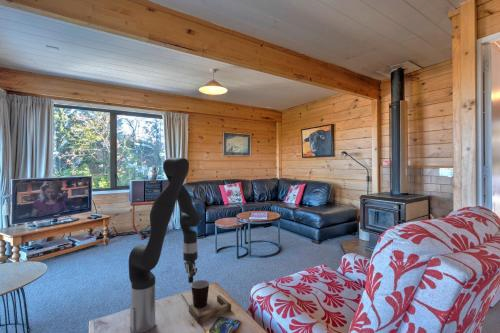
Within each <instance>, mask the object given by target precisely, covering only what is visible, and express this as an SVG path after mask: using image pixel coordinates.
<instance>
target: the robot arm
mask: <svg viewBox="0 0 500 333" xmlns="http://www.w3.org/2000/svg"><path fill="white" fill-rule="evenodd" d="M188 160H189V159H187V158H184V157H167V158H165V160H164V161H163V164H162V169H163V172H164V174H165V177H166V178H167V181H168V185H166V187H165V188H164V189H163V190H162V191H161V192H160V193H159V194H158V195H157V196H156V198H155V199H154V200H153V203H152V206H151V210H150V213H149V224H150V234H149V238H148V241H147V244H146V245H145V244H138V245H135V246H134V247H133V248H132V249H131V251H130V252H129V258H128V278H129V281H130V284H131V287H130V288H131V289H130V290H131V294H130V295H131V300H130V302H131V303H130V304H129V305H130V306H129V308H130V310H129V312H130V313H129V315H130V316H129V318H130V319H129V325H130V329H131V333H146V332H148V331H151V330H152V329H153V328H154V327H155V326H156V275H155V274H154V273H153V272H152V270H154V269H155V267H156V266H157V264H158V263H159V261H160V259H161V254H162V251H163V250H162V249H163V246H164V240H165V237H166V233H167V231H168V228H169V224H170V221H171V218H172V215H173V212H174V210H175V207H176V203H177V204H178V207H179V210H180V212H181V213H182V214H181V216H180V217H179V224H180V227H181V228H180V229H181V231H182V235H183V246H182V249H183V250H182V256H183V259H182V260H183V261H184V268H185V271H186V272H185V273H186V274H187V276H188V277H187V281H188V283H189V284H192V283H193V282H194V276H196V274H197V271H198V268H197V267H196V260H198V258H199V257H198V256H199V255H198V254H199V253H198V246H199V245H198V233H197V231H196V230H194V229H192V228H191V227H194V228H196V227H198V226H199V224H200V222H201V217H200V214H199V213H198V211H197V208H196V207H195V206H194V204H193V199H192V196H191V194H190V192H189V190H188V189H187V188H186V187H185V185H184V182H185V181H186V180H185V179H186V177H187V176H188V174H189V168H190V162H189V161H188Z"/></svg>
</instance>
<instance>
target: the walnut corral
mask: <svg viewBox="0 0 500 333" xmlns="http://www.w3.org/2000/svg"><path fill="white" fill-rule="evenodd" d="M216 302H217V303H218V304H219V306H216V307H213V308H210V309H208V310H206V311H202V312H200V311H199V310H198V309H197V308H195V307H194V306H193V303H191V304H189V305H188V312H189V314H190V315H191V316H192V317H193V318H194V319H195V321H196V322H197V323H198V324H202V323H204V322H207V321H209V320H212V319H215V318H217V317H219V316H220V317H221V316H222V315H225V314H227V313H229V312H232V304H231V303H230V302H228V300H226V299H225V297H223V296H222V295H221V294H217V295H216Z"/></svg>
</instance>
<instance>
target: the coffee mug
mask: <svg viewBox="0 0 500 333" xmlns="http://www.w3.org/2000/svg"><path fill="white" fill-rule="evenodd" d="M190 285H191V286H190V287H191V296H192V305H193V306H194V307H195V308H196V309H197V310H198V309H200V310H201V309H204V308H206V307H207V306H208V298H209V288H210V282H209V281H207V280H203V279H202V280H201V279H199V280H196V281H193V283H190Z"/></svg>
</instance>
